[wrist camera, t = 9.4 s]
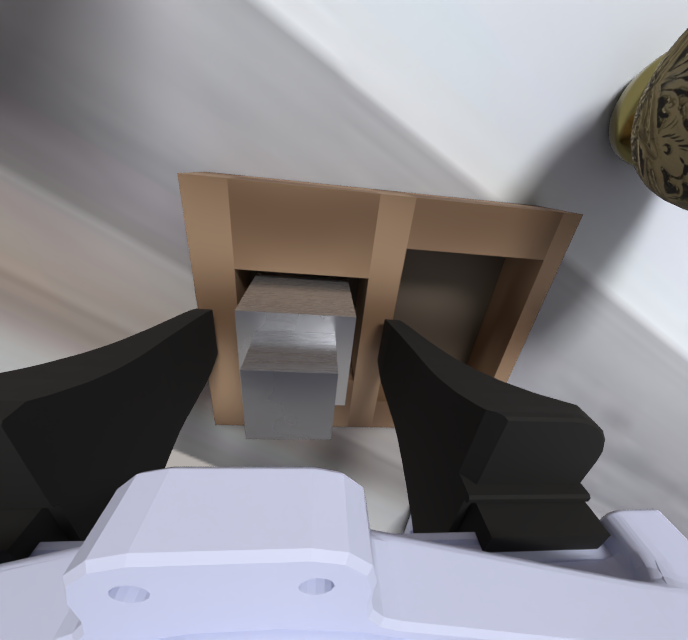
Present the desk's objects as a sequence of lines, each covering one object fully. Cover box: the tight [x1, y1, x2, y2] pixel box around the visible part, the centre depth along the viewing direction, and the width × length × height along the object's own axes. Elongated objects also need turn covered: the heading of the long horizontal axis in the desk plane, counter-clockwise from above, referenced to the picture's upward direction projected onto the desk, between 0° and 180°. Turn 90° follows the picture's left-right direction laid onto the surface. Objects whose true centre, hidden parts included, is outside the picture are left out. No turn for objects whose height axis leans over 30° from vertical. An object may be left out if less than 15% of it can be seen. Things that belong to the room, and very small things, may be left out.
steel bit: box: [234, 271, 356, 440], centre depth 11 cm, size 4×4×7 cm
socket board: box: [178, 172, 583, 427], centre depth 13 cm, size 11×14×2 cm
